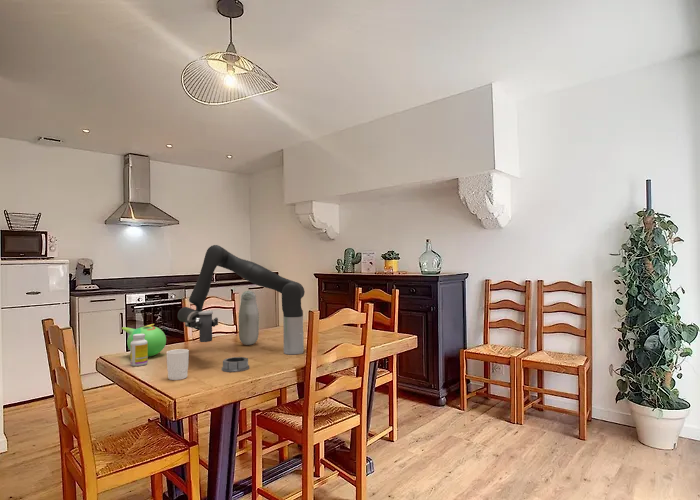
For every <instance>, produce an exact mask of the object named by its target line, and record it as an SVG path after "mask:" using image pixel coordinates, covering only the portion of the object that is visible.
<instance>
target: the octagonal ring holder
mask: <svg viewBox="0 0 700 500" xmlns="http://www.w3.org/2000/svg"><path fill="white" fill-rule="evenodd" d="M249 369H250V365H249V358H248V357H243V356H232V357H228V358H225V359H223V360H222V367H221V371H222V372H224V373H225V372H226V373H239V372H240V373H241V372H244V371H248V370H249Z"/></svg>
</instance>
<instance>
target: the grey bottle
mask: <svg viewBox="0 0 700 500" xmlns="http://www.w3.org/2000/svg"><path fill="white" fill-rule="evenodd" d="M256 297H257V296H256V294H255V292H254V291H252V290H246V291H244V292H242V294H241V298H240V305H239V310H238V311H239V312H238V338H239V341H240V343H241V344H242V345H245V346H250V345H255V343H256V342H257V341H258V340H259V328H260V327H259V323H260V321H259V320H260V319H259V318H260V317H259V316H260V315H259V309H258V308H259V307H258V303H257V298H256Z"/></svg>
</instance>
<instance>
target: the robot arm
mask: <svg viewBox="0 0 700 500" xmlns="http://www.w3.org/2000/svg"><path fill="white" fill-rule="evenodd" d="M217 267H219V268H223V269H226V270H227V271H228V270H229V271H231V272H233V273H234V274H236V275H238V276H239V277H241V278H242V279H244V280H246V281H248V282H250V283H252V284H254V285H256V286H259V287H262V288H266V289H270V290H274V291H276V292H278V293H280V294H281V309H282V312H283V313H282V314H283V315H282V316H283V317H282V318H283V320H282V321H283V328H282V329H283V354H285V355H300V354H304V352H305V351H304V349H305V347H304V339H305V338H304V337H305V336H304V334H305V333H304V311H303V308H302V299H303V297H304V295H305V287H303V285H302V284H301V283H300V282H298V281H293V280H291V279H288V278H285V277H284V276H281V275H278V273H275V272H274V271H272V270H270V269H268V268H266V267H265V266H262V265H260V264H258V263H255V262H253V261H251V260H247V259H244V258H240V257H238V256H236V255H234V254H233V253H232V252H230V251H228V250H227V249H225V248H224V247H222V246H220V245H219V244H213V245H211V246H209V247H208V248H207V249H206V252H205V256H204V259H203V262H202V265H201V270H200V272H199V275H198V278H197V280H196V282H195V285H194V287H193V289H192V292H191V294H190V296H189V298H188V301H189V303H191V304H193V305H194V306H195V309H194V308H192V307H191V308H190V307H188V306H183V307H182V308H180V309H179V310H178V312H177V320H179V322H181V323H185V324H184V325H185V326H184V327H187V328H189V329H190V328H191V329H194V330H197V331H199V328H201V322H199V312H202V311H203V308H204V303H205V302H206V299H207V297H208V294H209V292H210V288H211V284H212V279H213V275H214V273H215V270H216V269H217ZM218 325H219V317H214V318H213V319H212V328H215V327H216V326H218Z"/></svg>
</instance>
